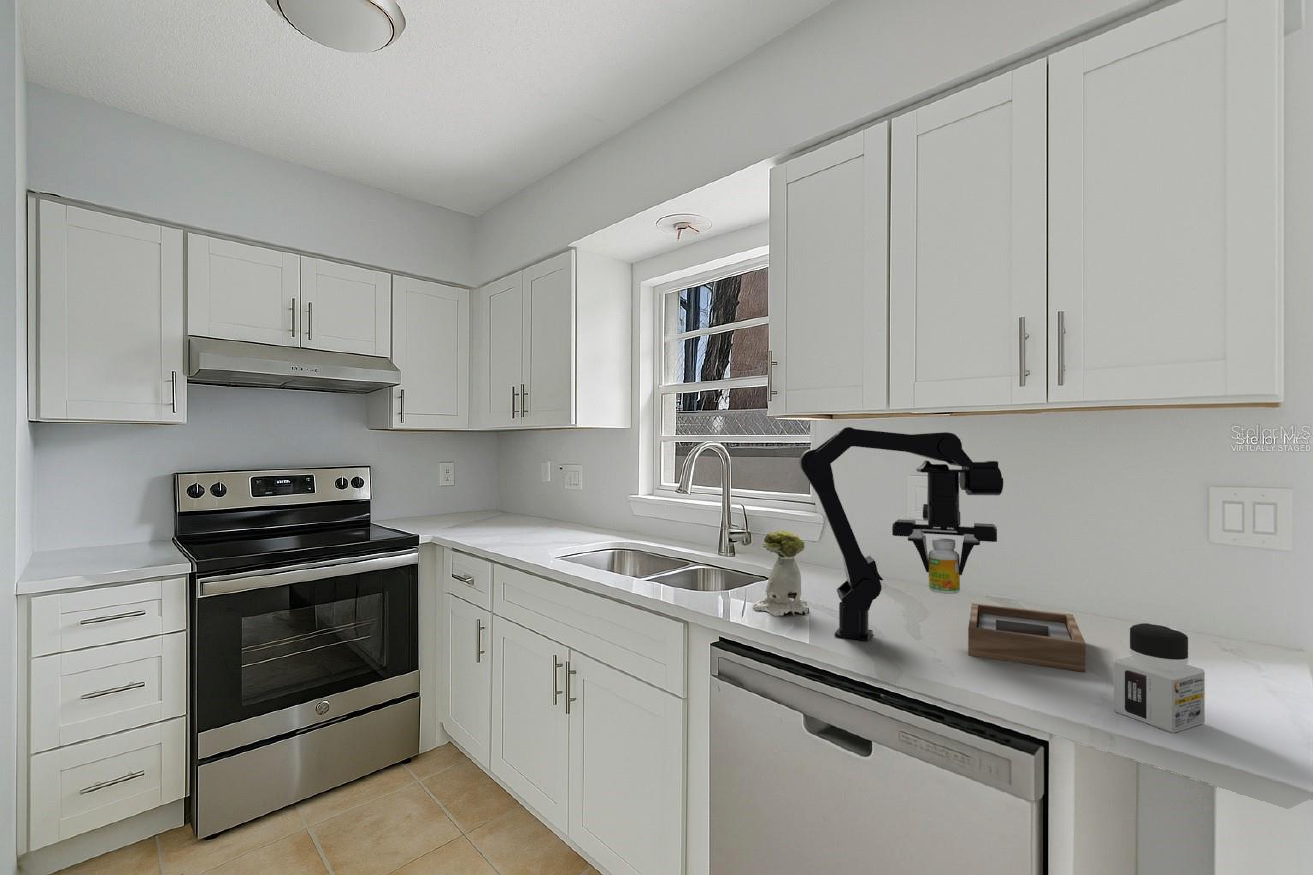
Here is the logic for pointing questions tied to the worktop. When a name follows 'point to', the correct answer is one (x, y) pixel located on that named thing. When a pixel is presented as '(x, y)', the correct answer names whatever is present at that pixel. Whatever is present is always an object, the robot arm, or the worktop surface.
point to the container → (1159, 680)
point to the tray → (1026, 637)
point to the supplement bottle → (944, 567)
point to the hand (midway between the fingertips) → (944, 573)
